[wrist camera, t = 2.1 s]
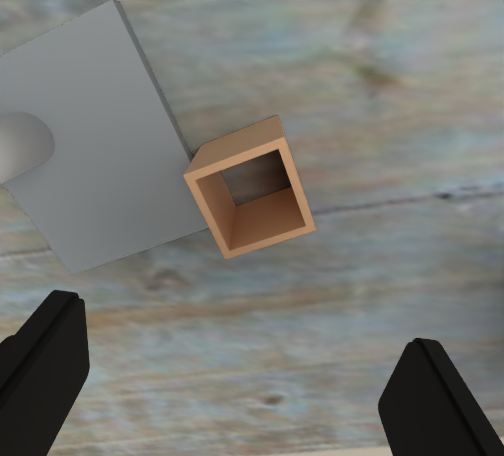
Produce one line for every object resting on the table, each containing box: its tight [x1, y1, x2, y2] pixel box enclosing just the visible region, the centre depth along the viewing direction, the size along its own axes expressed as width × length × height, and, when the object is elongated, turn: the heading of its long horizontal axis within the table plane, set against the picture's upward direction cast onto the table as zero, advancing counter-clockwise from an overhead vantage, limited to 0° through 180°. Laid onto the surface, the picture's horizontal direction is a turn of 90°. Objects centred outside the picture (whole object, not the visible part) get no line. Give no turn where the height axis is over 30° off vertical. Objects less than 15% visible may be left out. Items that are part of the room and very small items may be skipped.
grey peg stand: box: [0, 0, 209, 275], centre depth 21 cm, size 16×14×11 cm
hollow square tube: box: [183, 115, 316, 260], centre depth 23 cm, size 6×6×7 cm
